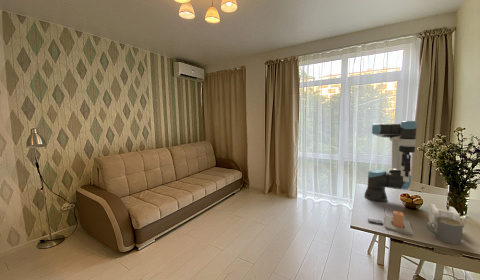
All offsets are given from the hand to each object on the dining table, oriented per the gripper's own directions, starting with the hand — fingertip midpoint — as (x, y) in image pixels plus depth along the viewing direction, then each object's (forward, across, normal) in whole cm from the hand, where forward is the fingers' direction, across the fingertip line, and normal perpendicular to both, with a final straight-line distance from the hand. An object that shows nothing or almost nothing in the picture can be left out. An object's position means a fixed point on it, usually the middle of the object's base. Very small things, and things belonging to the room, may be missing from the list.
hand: (404, 178), depth 120 cm
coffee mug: (+27, +13, +16) cm, 34 cm away
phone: (+27, +15, -14) cm, 34 cm away
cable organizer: (+27, -1, +18) cm, 33 cm away
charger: (+27, +13, -3) cm, 30 cm away
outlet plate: (+27, +12, -3) cm, 29 cm away
